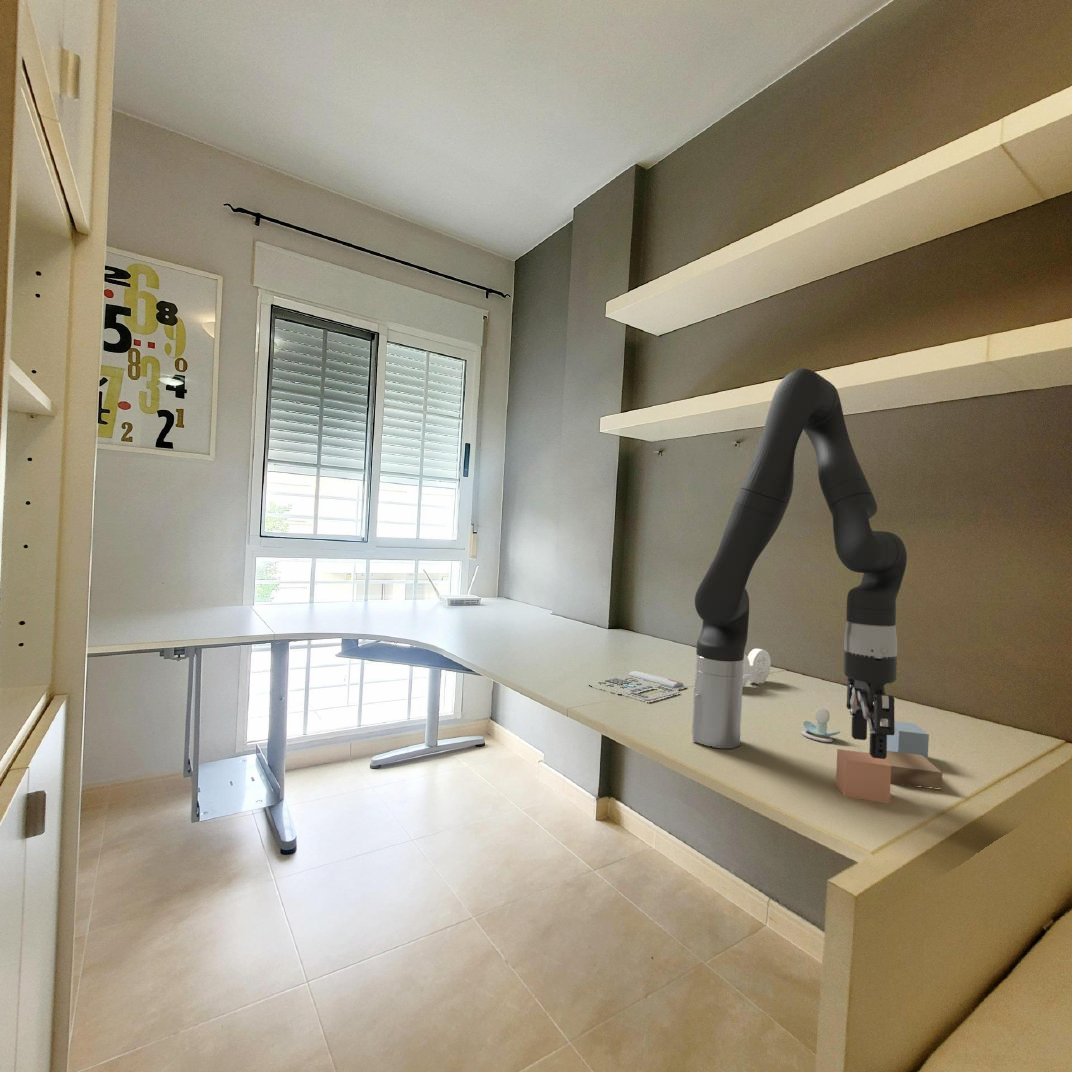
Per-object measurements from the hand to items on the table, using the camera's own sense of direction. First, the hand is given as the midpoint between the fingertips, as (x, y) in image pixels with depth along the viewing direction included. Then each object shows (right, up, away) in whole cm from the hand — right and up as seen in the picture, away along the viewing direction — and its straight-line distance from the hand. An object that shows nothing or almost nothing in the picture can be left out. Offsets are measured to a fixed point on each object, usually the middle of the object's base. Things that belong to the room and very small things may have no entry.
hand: (868, 747), depth 91 cm
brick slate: (+18, -8, +17) cm, 26 cm away
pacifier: (+5, -8, +26) cm, 27 cm away
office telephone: (-26, -7, +59) cm, 65 cm away
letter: (+5, -8, +66) cm, 67 cm away
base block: (+11, -8, +7) cm, 15 cm away
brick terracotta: (-1, -8, 0) cm, 8 cm away
